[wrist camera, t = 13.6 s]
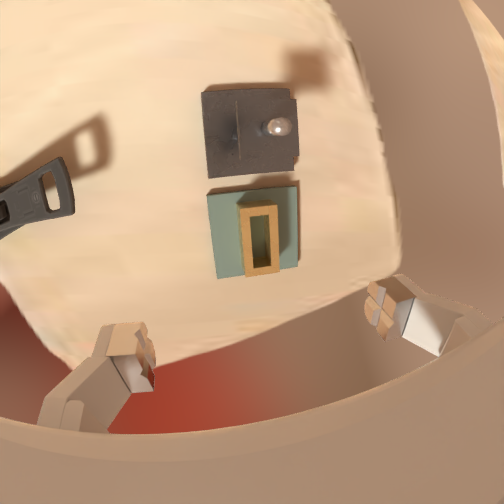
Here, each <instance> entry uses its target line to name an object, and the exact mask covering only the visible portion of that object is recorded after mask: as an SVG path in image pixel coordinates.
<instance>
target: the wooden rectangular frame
mask: <svg viewBox="0 0 504 504" xmlns="http://www.w3.org/2000/svg"><path fill="white" fill-rule="evenodd" d="M236 208H237V219H238V230H239V241H240V252H241V263H242V268H243V271H244V274H245V277H251V276H257V275H264V274H270V273H276V272H280V268H279V236H278V210H277V204H276V203H274V202H273V201H272V200H271V199H268V200H258V201H249V202H241V203H236ZM260 215H263V218H264V236H265V254H266V256H263V257H256V258H253V255H252V242H251V228H250V217H252V216H260Z"/></svg>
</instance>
